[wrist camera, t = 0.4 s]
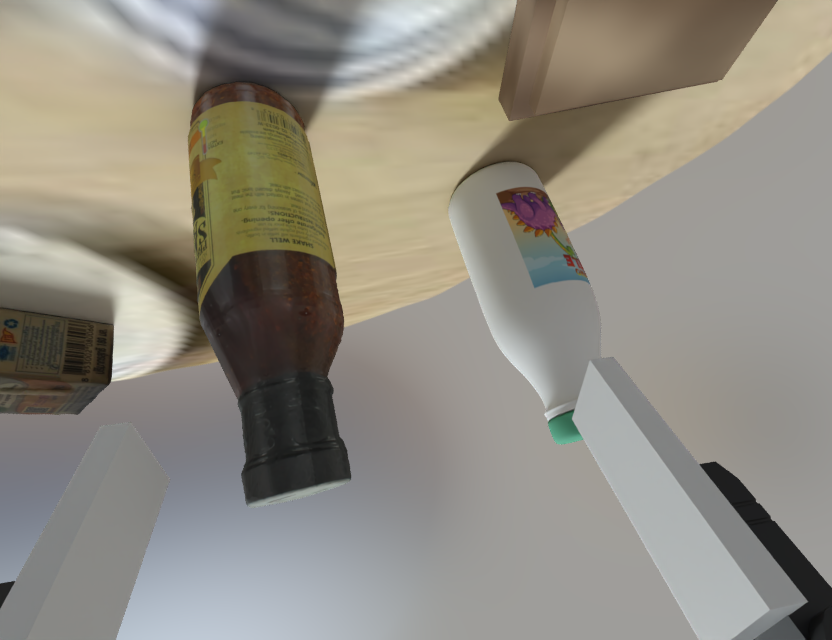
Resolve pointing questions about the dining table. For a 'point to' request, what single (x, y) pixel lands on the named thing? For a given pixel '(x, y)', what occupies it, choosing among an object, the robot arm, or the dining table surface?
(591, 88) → the podium
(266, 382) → the sauce bottle
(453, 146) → the dining table surface
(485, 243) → the milk bottle
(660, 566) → the robot arm
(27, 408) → the dark brown block
